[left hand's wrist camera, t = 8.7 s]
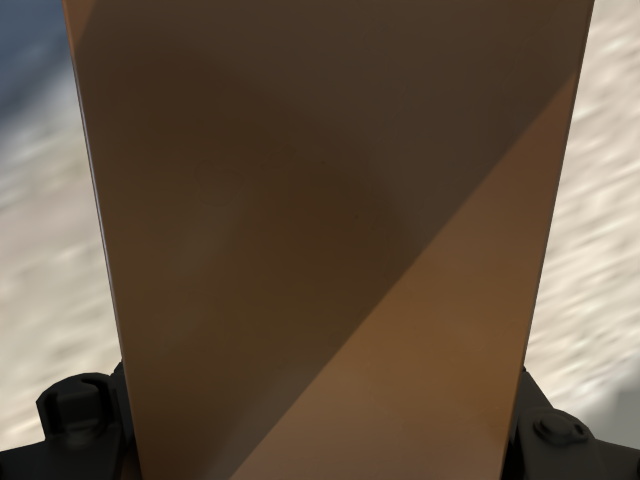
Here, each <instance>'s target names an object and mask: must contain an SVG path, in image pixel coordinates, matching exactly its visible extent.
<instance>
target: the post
mask: <svg viewBox="0 0 640 480" xmlns="http://www.w3.org/2000/svg"><path fill="white" fill-rule="evenodd" d="M594 1H595V0H62V5H63V11H64V17H65V23H66V29H67V35H68V41H69V47H70V52H71V58H72V64H73V70H74V76H75V82H76V88H77V94H78V100H79V106H80V112H81V118H82V124H83V130H84V136H85V142H86V147H87V153H88V159H89V165H90V171H91V177H92V183H93V189H94V195H95V201H96V207H97V213H98V219H99V225H100V231H101V237H102V242H103V248H104V254H105V260H106V266H107V272H108V278H109V284H110V290H111V296H112V302H113V308H114V314H115V320H116V326H117V332H118V337H119V343H120V349H121V355H122V361H123V367H124V373H125V379H126V385H127V391H128V397H129V403H130V409H131V415H132V421H133V427H134V432H135V438H136V444H137V450H138V456H139V462H140V468H141V474H142V480H501V478H502V473H503V468H504V463H505V458H506V452H507V447H508V442H509V437H510V432H511V427H512V422H513V417H514V411H515V406H516V401H517V396H518V391H519V386H520V381H521V375H522V370H523V365H524V360H525V355H526V350H527V345H528V340H529V334H530V329H531V324H532V319H533V314H534V309H535V304H536V299H537V293H538V288H539V283H540V278H541V273H542V268H543V263H544V258H545V252H546V247H547V242H548V237H549V232H550V227H551V222H552V217H553V211H554V206H555V201H556V196H557V191H558V186H559V181H560V176H561V170H562V165H563V160H564V155H565V150H566V145H567V140H568V135H569V129H570V124H571V119H572V114H573V109H574V104H575V99H576V94H577V88H578V83H579V78H580V73H581V68H582V63H583V58H584V53H585V47H586V42H587V37H588V32H589V27H590V22H591V17H592V12H593V6H594Z"/></svg>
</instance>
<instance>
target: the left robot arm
mask: <svg viewBox="0 0 640 480" xmlns="http://www.w3.org/2000/svg"><path fill="white" fill-rule="evenodd" d="M36 405H37V409H38V413H39V416H40V420H41V424H42V427H43V431H44V435H45V441H42V442H38V443H35V444H31V445H27V446H22V447H18V448H14V449H10V450H5V451H1V452H0V480H142V474H141V468H140V462H139V456H138V450H137V444H136V438H135V432H134V427H133V421H132V415H131V409H130V403H129V397H128V391H127V385H126V379H125V373H124V367H123V361H122V359H121V362H119V364H118V365H117V367H116V368H115V369H114V373H112V374H111V375H110V376H109V375H106V374H102V373H98V372H96V373H82V374H78V375H75V376H71V377H68V378H66V379H63V380H61V381H59V382H57V383H55V384H53V385H52V386H51V387H49V388H48V389H46V390H45V391H44V392H43V393H42V394H41V395H40V397H39V398H38V399H37V401H36ZM501 480H640V450H638V449H634V448H630V447H625V446H621V445H617V444H612V443H608V442H604V441H601V440H598V439H595V437H594V436H593V434H592V433H591V431H590V430H589V428H588V427H587V426H586V425H584V424H583V423H582V422H581V421H580V420H579V419H577V418H576V417H574V416H572V415H570V414H568V413H566V412H564V411H561V410H558V409H554V408H553V407H552V405H551V404H550V402H549V401H548V399H547V398H546V397H545V395H544V394H543V392H542V391H541V389H540V388H539V387H538V385H537V384H536V382H535V381H534V379H533V378H532V377H531V375H530V374H529V372H526V368H525V367H524V365H523V370H522V375H521V381H520V386H519V391H518V396H517V401H516V406H515V411H514V417H513V422H512V427H511V432H510V437H509V442H508V447H507V452H506V458H505V463H504V468H503V473H502V478H501Z"/></svg>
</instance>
